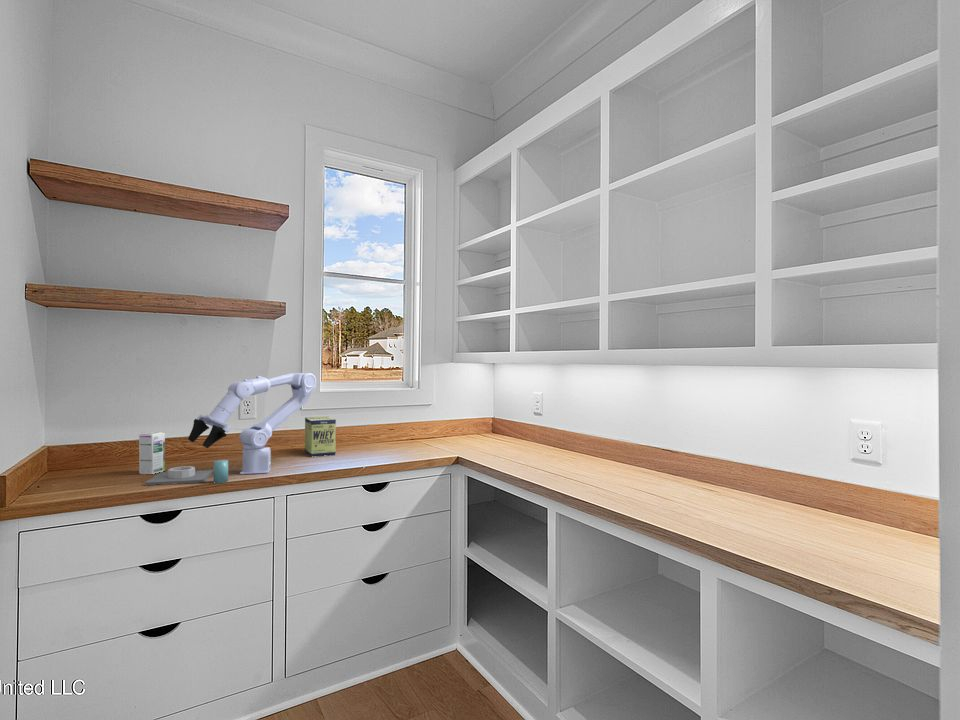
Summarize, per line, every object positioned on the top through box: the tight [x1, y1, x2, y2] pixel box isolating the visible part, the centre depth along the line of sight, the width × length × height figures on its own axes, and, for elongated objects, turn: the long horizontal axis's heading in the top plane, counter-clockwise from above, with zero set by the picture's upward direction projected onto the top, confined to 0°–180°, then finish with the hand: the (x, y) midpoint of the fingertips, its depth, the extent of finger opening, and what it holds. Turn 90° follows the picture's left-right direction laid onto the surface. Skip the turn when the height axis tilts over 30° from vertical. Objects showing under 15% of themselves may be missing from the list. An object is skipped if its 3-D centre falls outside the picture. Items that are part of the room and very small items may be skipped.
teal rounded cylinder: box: [213, 459, 229, 484], centre depth 173 cm, size 4×4×7 cm
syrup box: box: [138, 431, 166, 475], centre depth 186 cm, size 6×6×14 cm
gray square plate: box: [144, 465, 214, 486], centre depth 177 cm, size 17×16×4 cm
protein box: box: [304, 416, 337, 458], centre depth 227 cm, size 10×16×16 cm
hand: (197, 443), depth 173 cm, fingers open, 7 cm apart
